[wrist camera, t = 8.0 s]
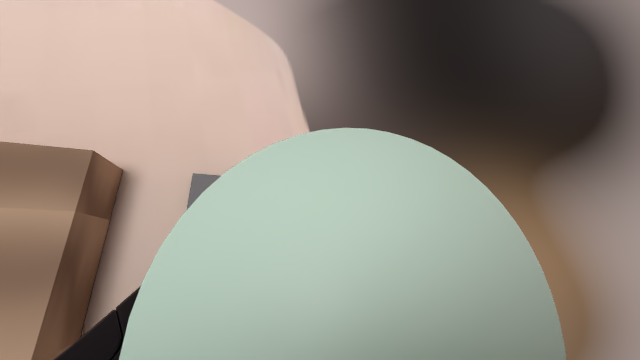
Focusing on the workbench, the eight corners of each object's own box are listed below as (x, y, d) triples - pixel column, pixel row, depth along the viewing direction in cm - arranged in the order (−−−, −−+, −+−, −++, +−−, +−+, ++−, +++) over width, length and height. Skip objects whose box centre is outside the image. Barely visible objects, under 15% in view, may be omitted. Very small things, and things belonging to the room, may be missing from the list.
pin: (291, 330, 14) (523, 816, 2) (220, 288, 14) (-58, 521, 2) (330, 255, 16) (590, 247, 3) (266, 217, 15) (301, 63, 3)
